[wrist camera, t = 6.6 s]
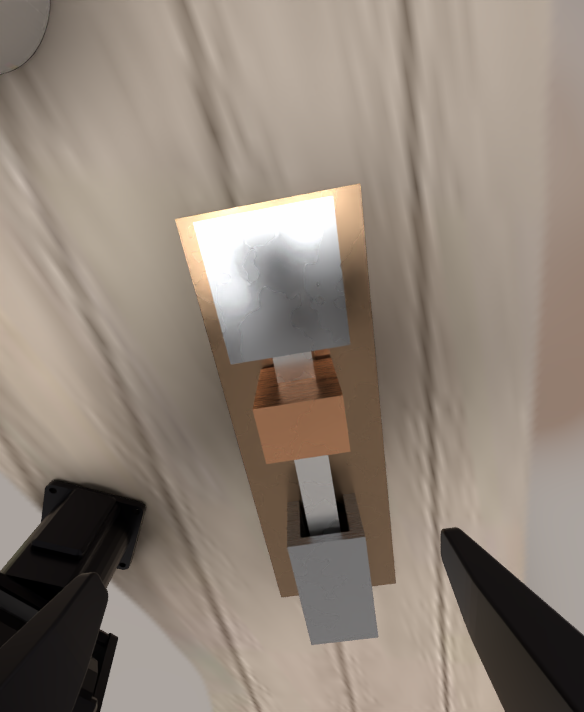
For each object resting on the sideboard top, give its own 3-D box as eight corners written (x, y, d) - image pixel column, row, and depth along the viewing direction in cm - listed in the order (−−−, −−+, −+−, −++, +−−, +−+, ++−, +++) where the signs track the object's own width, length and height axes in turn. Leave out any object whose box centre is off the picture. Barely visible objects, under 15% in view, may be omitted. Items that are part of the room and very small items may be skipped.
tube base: (393, 576, 26) (412, 638, 22) (281, 590, 27) (280, 653, 23) (358, 184, 16) (380, 171, 12) (178, 219, 17) (143, 217, 13)
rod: (353, 514, 23) (367, 578, 19) (295, 522, 23) (297, 586, 19) (320, 280, 17) (330, 297, 13) (243, 294, 17) (228, 315, 13)
